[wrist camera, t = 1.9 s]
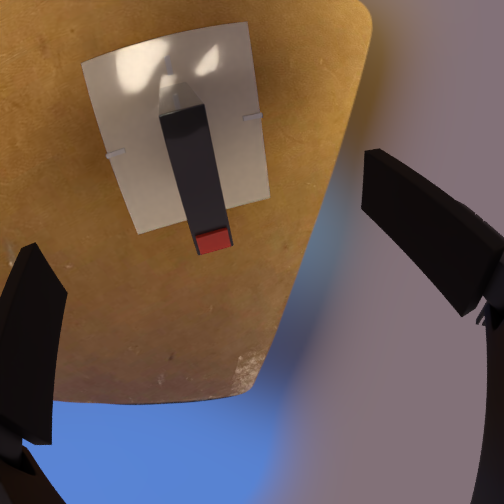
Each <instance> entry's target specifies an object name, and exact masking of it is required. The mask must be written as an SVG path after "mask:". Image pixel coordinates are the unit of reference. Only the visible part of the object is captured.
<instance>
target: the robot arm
mask: <svg viewBox="0 0 504 504" xmlns="http://www.w3.org/2000/svg"><path fill="white" fill-rule="evenodd" d="M361 209H362V210H363V211H364V212H365V213H366V214H367V215H368V216H369V217H370V218H371V219H372V220H373V221H374V222H375V223H376V224H377V225H378V226H379V227H380V228H381V229H382V230H383V231H384V232H385V233H386V234H388V236H390V238H392V240H393V241H394V242H395V243H396V244H397V245H398V246H399V247H400V248H401V249H402V250H403V251H404V252H405V253H406V254H407V255H408V256H409V257H410V259H412V261H413V262H414V263H415V264H416V265H417V266H418V267H419V268H420V269H421V270H422V272H423V273H424V274H425V275H426V276H427V277H428V278H429V279H430V280H431V282H432V283H433V284H434V285H435V286H436V287H437V289H438V290H439V291H440V292H441V293H442V294H443V295H444V297H445V298H446V299H447V300H448V301H449V303H450V304H451V305H452V306H453V307H454V308H455V310H456V311H457V312H458V313H459V315H460V316H461V317H463V316H464V315H466V314H468V313H469V312H471V311H472V310H474V309H475V308H476V307H477V305H478V303H479V301H480V299H481V298H482V296H484V297H485V299H486V300H487V302H486V303H485V305H484V307H483V309H482V310H481V312H480V314H479V316H478V317H477V319H476V324H479V322H480V321H481V319H482V318H483V316H485V320H484V321H483V323H482V325H483V326H486V341H487V398H486V415H485V425H484V434H483V443H482V450H481V456H480V462H479V468H478V473H477V478H476V483H475V487H474V492H473V496H472V500H471V503H470V504H504V237H503V236H502V235H500V234H499V233H498V232H497V231H496V230H495V229H494V228H492V227H491V226H490V225H489V224H488V223H487V222H485V221H483V219H482V218H480V217H479V216H478V215H477V214H476V215H475V212H473V211H472V210H471V209H469V208H468V207H467V206H466V205H464V204H462V203H460V202H458V201H456V200H454V199H453V198H452V197H451V196H449V195H448V194H447V193H445V192H444V191H443V190H441V189H440V188H439V187H437V186H436V185H434V184H433V183H431V182H430V181H429V180H427V179H426V178H424V177H423V176H422V175H420V174H419V173H417V172H416V171H414V170H413V169H411V168H410V167H408V166H407V165H405V164H404V163H402V162H400V161H399V160H397V159H396V158H394V157H393V156H391V155H389V154H388V153H386V152H385V151H383V150H381V149H373V150H367V151H365V154H364V175H363V191H362V205H361ZM67 294H68V293H67V291H66V290H65V288H64V287H63V285H62V284H61V282H60V281H59V279H58V278H57V276H56V275H55V273H54V272H53V270H52V268H51V267H50V265H49V264H48V262H47V260H46V259H45V257H44V256H43V254H42V252H41V251H40V249H39V247H38V245H37V244H36V242H35V243H32V244H30V245H27V246H25V247H23V248H21V250H20V252H19V254H18V257H17V259H16V261H15V263H14V265H13V268H12V270H11V272H10V275H9V277H8V279H7V282H6V284H5V287H4V289H3V292H2V295H1V297H0V504H66V503H65V502H64V500H63V499H62V498H61V496H60V495H59V494H58V493H57V491H56V490H55V488H54V487H53V486H52V485H51V483H50V482H49V480H48V479H47V477H46V476H45V475H44V473H43V472H42V470H41V469H40V467H39V465H38V464H37V462H36V461H35V459H34V458H33V456H32V455H31V453H30V452H29V450H28V449H27V448H26V447H24V446H23V445H22V438H23V439H25V440H27V441H29V442H30V443H32V444H34V445H51V444H52V408H53V392H54V379H55V369H56V360H57V352H58V345H59V338H60V332H61V325H62V320H63V314H64V309H65V304H66V299H67Z"/></svg>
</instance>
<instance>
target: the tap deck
mask: <svg viewBox="0 0 504 504" xmlns="http://www.w3.org/2000/svg"><path fill="white" fill-rule="evenodd" d="M81 66H82V70H83V74H84V77H85V81H86V85H87V89H88V92H89V96H90V99H91V103H92V106H93V110H94V113H95V116H96V120H97V123H98V126H99V129H100V133H101V136H102V139H103V142H104V145H105V148H106V151H107V154H106V157H107V159H108V158H109V160H110V162H111V165H112V168H113V171H114V174H115V176H116V179H117V182H118V185H119V187H120V190H121V193H122V195H123V198H124V200H125V203H126V206H127V208H128V211H129V213H130V216H131V218H132V221H133V223H134V226H135V228H136V230H137V233H138V234H142V233H145V232H148V231H152V230H155V229H158V228H162V227H165V226H168V225H172V224H175V223H179V222H182V221H186V220H187V218H186V215H185V212H184V208H183V205H182V201H181V198H180V194H179V191H178V188H177V184H176V180H175V177H174V173H173V170H172V166H171V163H170V159H169V155H168V151H167V148H166V144H165V140H164V136H163V132H162V129H161V125H160V121H159V117H158V116H159V89H160V88H163V87H166V86H170V85H174V84H178V83H182V82H187V83H188V85H189V86H190V87H191V88H192V89H193V91H194V92H195V93H196V94H197V96H198V97H199V98H200V99H201V101H202V102H203V103H204V104H205V108H206V113H207V118H208V124H209V129H210V134H211V139H212V144H213V149H214V154H215V159H216V163H217V168H218V173H219V178H220V183H221V188H222V193H223V197H224V202H225V207H226V209H229V208H233V207H236V206H240V205H244V204H248V203H252V202H256V201H260V200H263V199H267V198H270V190H269V182H268V173H267V164H266V156H265V148H264V140H263V132H262V124H261V118H263V115H262V113H260V108H259V101H258V93H257V86H256V78H255V71H254V64H253V57H252V50H251V43H250V36H249V29H248V23H247V22H238V23H230V24H223V25H216V26H210V27H204V28H199V29H194V30H189V31H184V32H179V33H175V34H170V35H166V36H162V37H158V38H154V39H151V40H147V41H144V42H140V43H137V44H133V45H130V46H127V47H124V48H121V49H118V50H115V51H112V52H109V53H106V54H103V55H101V56H98V57H95V58H93V59H90V60H87V61H85V62H83V63H81Z"/></svg>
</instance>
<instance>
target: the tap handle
mask: <svg viewBox="0 0 504 504" xmlns="http://www.w3.org/2000/svg"><path fill="white" fill-rule="evenodd" d="M158 117H159V121H160V125H161V129H162V132H163V136H164V140H165V144H166V148H167V151H168V155H169V159H170V163H171V166H172V170H173V173H174V177H175V180H176V184H177V188H178V191H179V194H180V198H181V201H182V205H183V208H184V212H185V215H186V218H187V222H188V225H189V228H190V231H191V235H192V238H193V241H194V244H195V247H196V251H197V254H198V255H203V254H206V253H210V252H213V251H217V250H220V249H224V248H227V247H231V246H233V240H232V235H231V231H230V226H229V221H228V217H227V212H226V207H225V202H224V197H223V193H222V188H221V183H220V178H219V173H218V168H217V163H216V159H215V154H214V149H213V144H212V139H211V134H210V129H209V124H208V118H207V113H206V108H205V104H204V103H203V102H202V101H201V99H200V98H199V97H198V96H197V94H196V93H195V92H194V91H193V89H192V88H191V87H190V86H189V85H188V83H187V82H182V83H178V84H174V85H170V86H166V87H163V88H160V89H159V116H158Z"/></svg>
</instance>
